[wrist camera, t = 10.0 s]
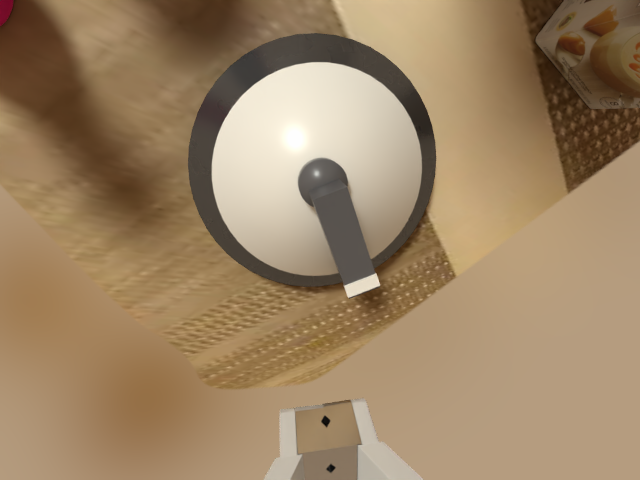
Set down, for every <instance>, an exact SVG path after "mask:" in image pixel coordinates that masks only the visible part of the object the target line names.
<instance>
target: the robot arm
mask: <svg viewBox="0 0 640 480" xmlns="http://www.w3.org/2000/svg"><path fill="white" fill-rule="evenodd" d="M264 480H423V479H422V478H421V477H420V476H419V475H418V474H417V473H416V472H415V471H414V470H412V468H411V467H410V466H409V465H407V464H406V463H405V462H404V461H403V460H402V459H401V458H400V457H399V456H398V455H397V454H396V453H395V452H394V451H393V450H392V449H391V448H390V447H388V446H387V445H386V444H385V443H384V442H379V441H378V437H377V434H376V431H375V428H374V425H373V421H372V419H371V415H370V412H369V409H368V406H367V402H366V400H365V399H364V398H362V399H355V400H345V401H339V402H332V403H326V404H323V405H315V406H305V407H296V408H289V409H281V410H280V457H279V458H275V460H274V462H273V464H272V465H271V467H270V469H269V471H268V473H267V474H266V476H265V478H264Z"/></svg>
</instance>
